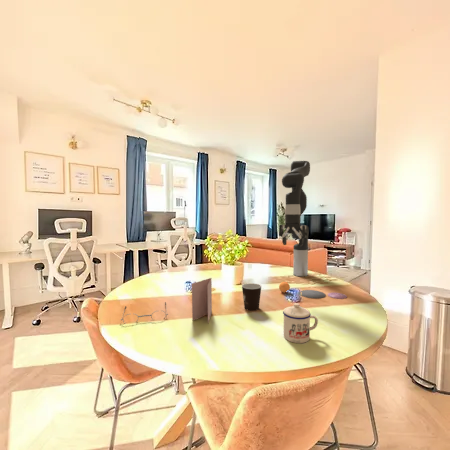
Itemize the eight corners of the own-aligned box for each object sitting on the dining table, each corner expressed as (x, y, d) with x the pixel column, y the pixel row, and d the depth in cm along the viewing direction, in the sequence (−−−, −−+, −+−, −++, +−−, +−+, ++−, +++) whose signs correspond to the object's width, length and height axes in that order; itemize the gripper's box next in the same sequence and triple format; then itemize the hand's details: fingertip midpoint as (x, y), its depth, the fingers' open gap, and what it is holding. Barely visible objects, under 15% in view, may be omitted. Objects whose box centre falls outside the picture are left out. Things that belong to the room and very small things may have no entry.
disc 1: (298, 289, 142) (298, 289, 142) (323, 291, 139) (323, 290, 139) (299, 297, 129) (299, 297, 129) (327, 299, 126) (327, 298, 126)
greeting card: (210, 311, 112) (209, 277, 111) (223, 315, 107) (223, 280, 107) (190, 320, 103) (190, 283, 102) (204, 325, 99) (203, 286, 98)
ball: (279, 290, 140) (279, 280, 140) (289, 291, 139) (289, 280, 139) (278, 293, 135) (278, 283, 135) (289, 294, 134) (289, 283, 133)
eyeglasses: (120, 325, 100) (120, 315, 100) (125, 309, 119) (125, 300, 119) (168, 319, 105) (167, 310, 105) (165, 304, 123) (165, 296, 123)
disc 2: (326, 292, 136) (326, 292, 136) (344, 293, 134) (344, 293, 134) (329, 298, 128) (329, 297, 128) (348, 299, 125) (348, 299, 125)
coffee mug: (260, 312, 111) (260, 289, 110) (240, 311, 112) (240, 288, 112) (262, 302, 122) (262, 282, 121) (244, 301, 124) (244, 281, 123)
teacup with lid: (287, 344, 84) (288, 309, 83) (279, 331, 93) (279, 299, 92) (323, 342, 85) (323, 308, 84) (311, 330, 94) (312, 298, 93)
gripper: (309, 213, 129) (309, 245, 130) (283, 213, 138) (283, 243, 139) (303, 213, 123) (302, 247, 124) (276, 213, 132) (276, 245, 133)
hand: (292, 245), depth 131 cm, fingers open, 8 cm apart
